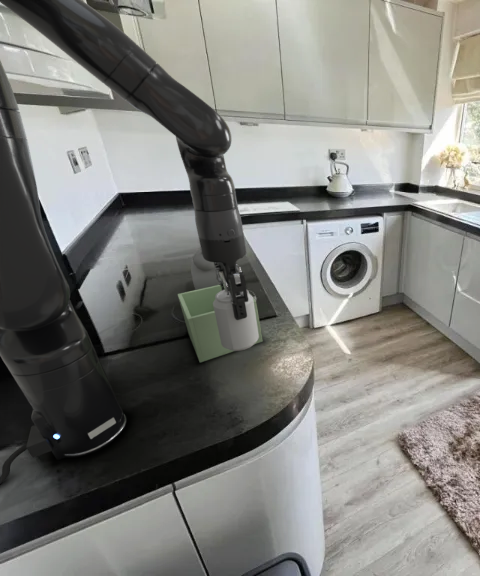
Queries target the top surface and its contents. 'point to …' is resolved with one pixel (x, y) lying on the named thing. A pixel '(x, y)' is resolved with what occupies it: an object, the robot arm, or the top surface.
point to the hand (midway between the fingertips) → (235, 309)
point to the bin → (205, 322)
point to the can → (235, 323)
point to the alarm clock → (202, 272)
